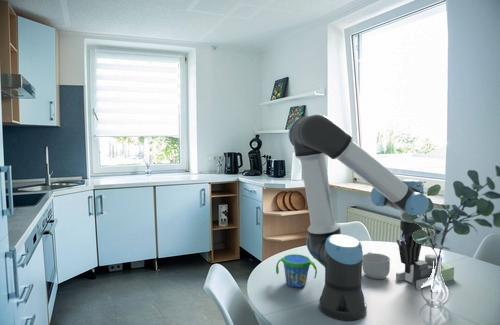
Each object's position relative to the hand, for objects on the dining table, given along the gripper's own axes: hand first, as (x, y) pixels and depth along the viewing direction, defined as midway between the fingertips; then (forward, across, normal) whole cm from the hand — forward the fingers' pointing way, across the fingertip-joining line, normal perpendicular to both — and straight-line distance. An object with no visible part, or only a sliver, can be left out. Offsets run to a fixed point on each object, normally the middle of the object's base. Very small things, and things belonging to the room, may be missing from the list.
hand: (408, 280), depth 134 cm
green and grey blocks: (+1, +10, 0) cm, 10 cm away
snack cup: (+2, -38, +21) cm, 43 cm away
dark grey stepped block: (+2, +7, 0) cm, 7 cm away
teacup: (+2, -4, +13) cm, 14 cm away
